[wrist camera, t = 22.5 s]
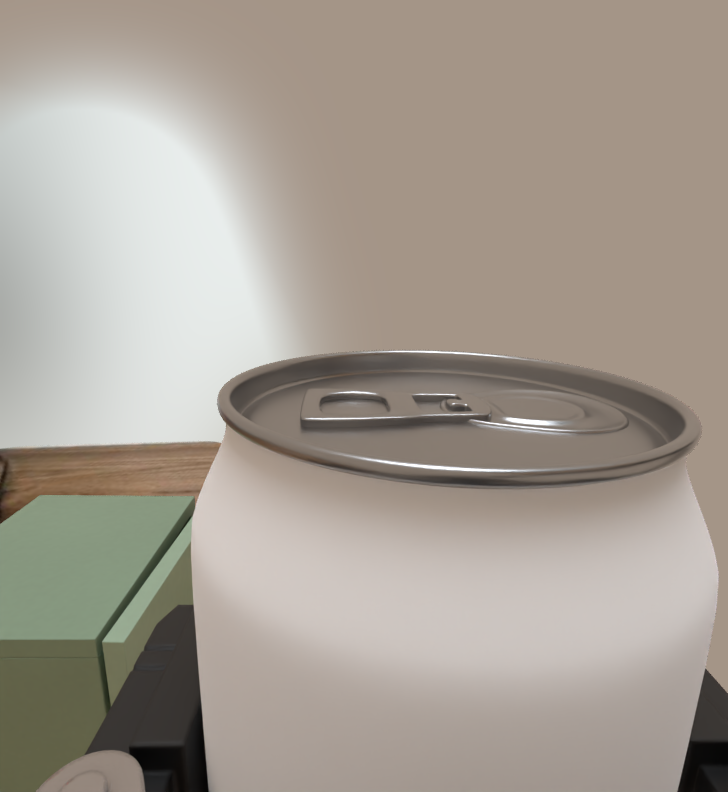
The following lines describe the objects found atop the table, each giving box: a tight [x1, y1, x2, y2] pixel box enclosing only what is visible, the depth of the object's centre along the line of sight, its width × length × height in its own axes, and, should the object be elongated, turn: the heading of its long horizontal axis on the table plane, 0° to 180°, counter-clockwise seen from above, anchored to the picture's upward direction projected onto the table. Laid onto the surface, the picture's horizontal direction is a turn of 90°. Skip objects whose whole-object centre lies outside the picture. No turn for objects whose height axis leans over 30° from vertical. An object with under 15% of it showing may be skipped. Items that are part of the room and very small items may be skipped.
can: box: [191, 350, 718, 792], centre depth 8 cm, size 6×6×12 cm
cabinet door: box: [102, 516, 194, 706], centre depth 29 cm, size 6×14×10 cm, turn 179°
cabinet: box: [0, 495, 195, 792], centre depth 29 cm, size 11×14×10 cm
